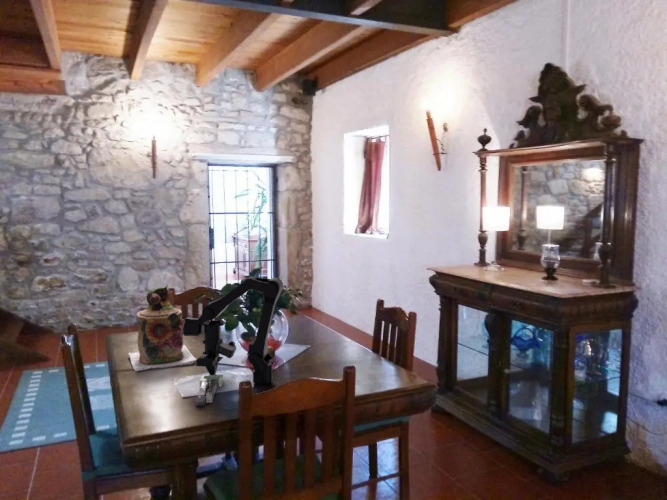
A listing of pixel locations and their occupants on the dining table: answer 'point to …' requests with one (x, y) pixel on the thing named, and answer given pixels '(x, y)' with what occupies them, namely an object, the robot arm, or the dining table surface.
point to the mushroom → (271, 351)
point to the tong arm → (202, 393)
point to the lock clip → (210, 377)
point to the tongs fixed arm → (211, 390)
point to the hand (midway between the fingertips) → (213, 377)
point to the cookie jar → (160, 334)
